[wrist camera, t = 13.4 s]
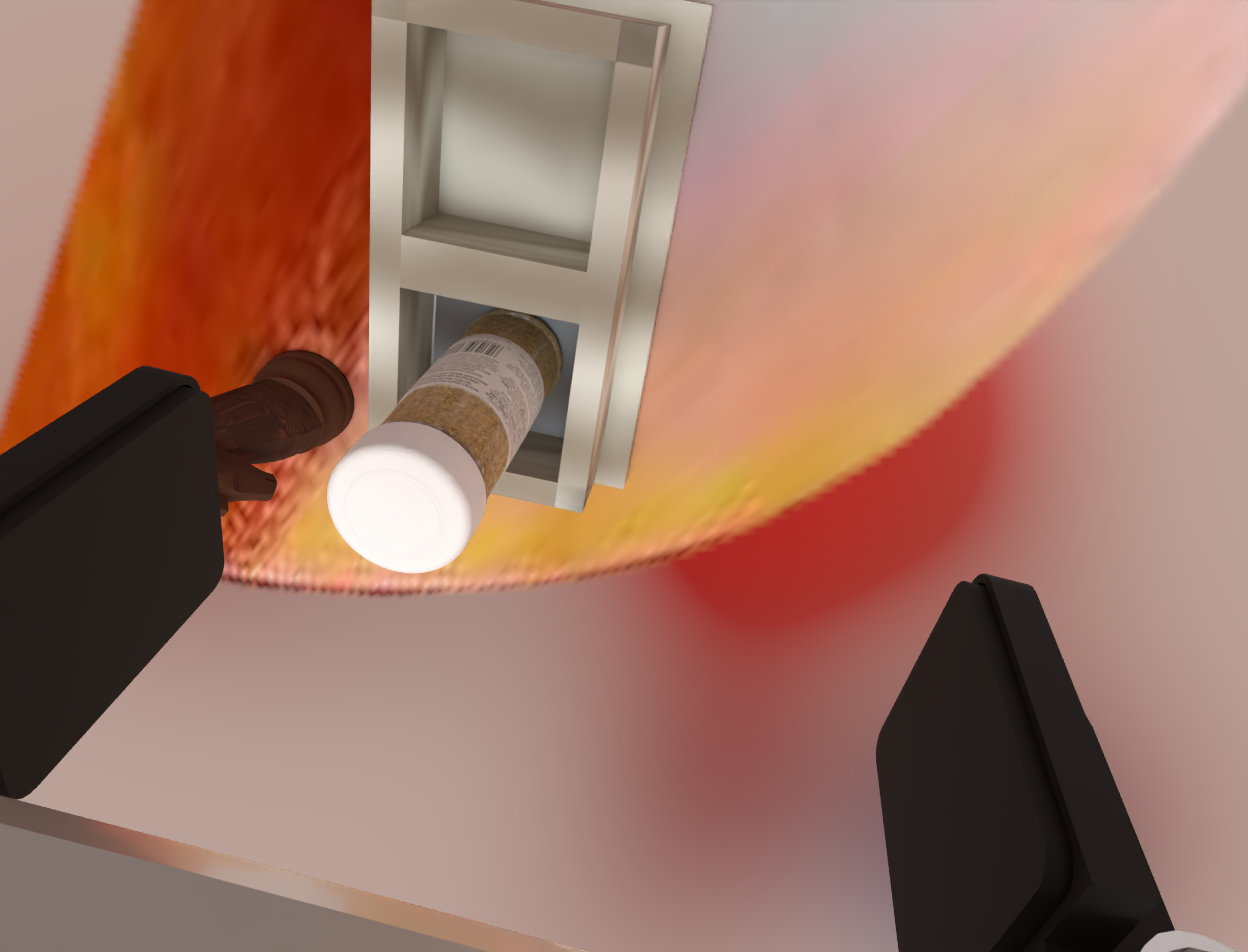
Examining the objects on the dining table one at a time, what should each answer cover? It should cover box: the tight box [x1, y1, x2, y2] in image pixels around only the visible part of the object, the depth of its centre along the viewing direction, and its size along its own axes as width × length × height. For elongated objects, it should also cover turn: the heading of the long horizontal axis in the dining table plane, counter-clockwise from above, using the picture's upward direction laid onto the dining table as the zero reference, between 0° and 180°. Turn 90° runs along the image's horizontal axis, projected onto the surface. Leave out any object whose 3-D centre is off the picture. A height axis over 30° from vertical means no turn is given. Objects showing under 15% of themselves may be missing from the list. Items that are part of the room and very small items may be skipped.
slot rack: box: [368, 0, 714, 513], centre depth 34 cm, size 20×12×5 cm, turn 171°
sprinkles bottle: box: [327, 309, 562, 573], centre depth 31 cm, size 5×5×13 cm
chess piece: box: [210, 351, 353, 516], centre depth 37 cm, size 5×5×10 cm
